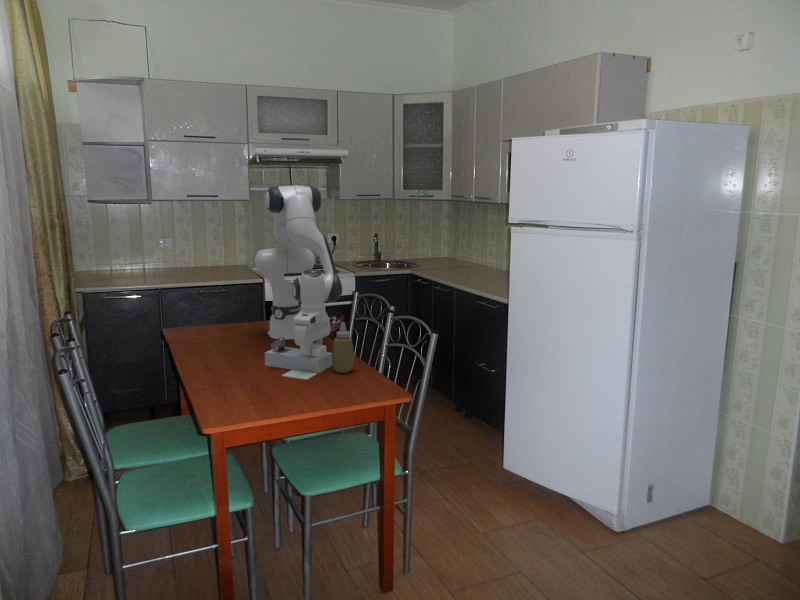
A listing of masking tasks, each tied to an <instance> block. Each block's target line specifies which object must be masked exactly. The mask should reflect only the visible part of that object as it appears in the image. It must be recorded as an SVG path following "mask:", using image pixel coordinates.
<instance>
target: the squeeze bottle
mask: <svg viewBox="0 0 800 600" xmlns="http://www.w3.org/2000/svg"><path fill="white" fill-rule="evenodd" d="M350 333H351V332H350V331H348V330H347V327H346V322H344V321H341V322H340V327H339V331H336V337H335V338H334V339H333V347H332V367H333V369H334V372H336V373H340V374H346V373H351V372H352V368H353V367H354V363H355V355H354V354H355V353H354V345H353V338H351V337H350V336H351V335H350Z"/></svg>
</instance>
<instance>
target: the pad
mask: <svg viewBox="0 0 800 600" xmlns="http://www.w3.org/2000/svg"><path fill="white" fill-rule="evenodd" d="M317 375H318V373H314V372H306V371H299V370H292V369H290V370H289V371H287V372H286V373H284V374H281V377H284V378H290V379H298V380H304V381H305V380H306V381H308V380H310V379H311V378H313V377H315V376H317Z"/></svg>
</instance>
